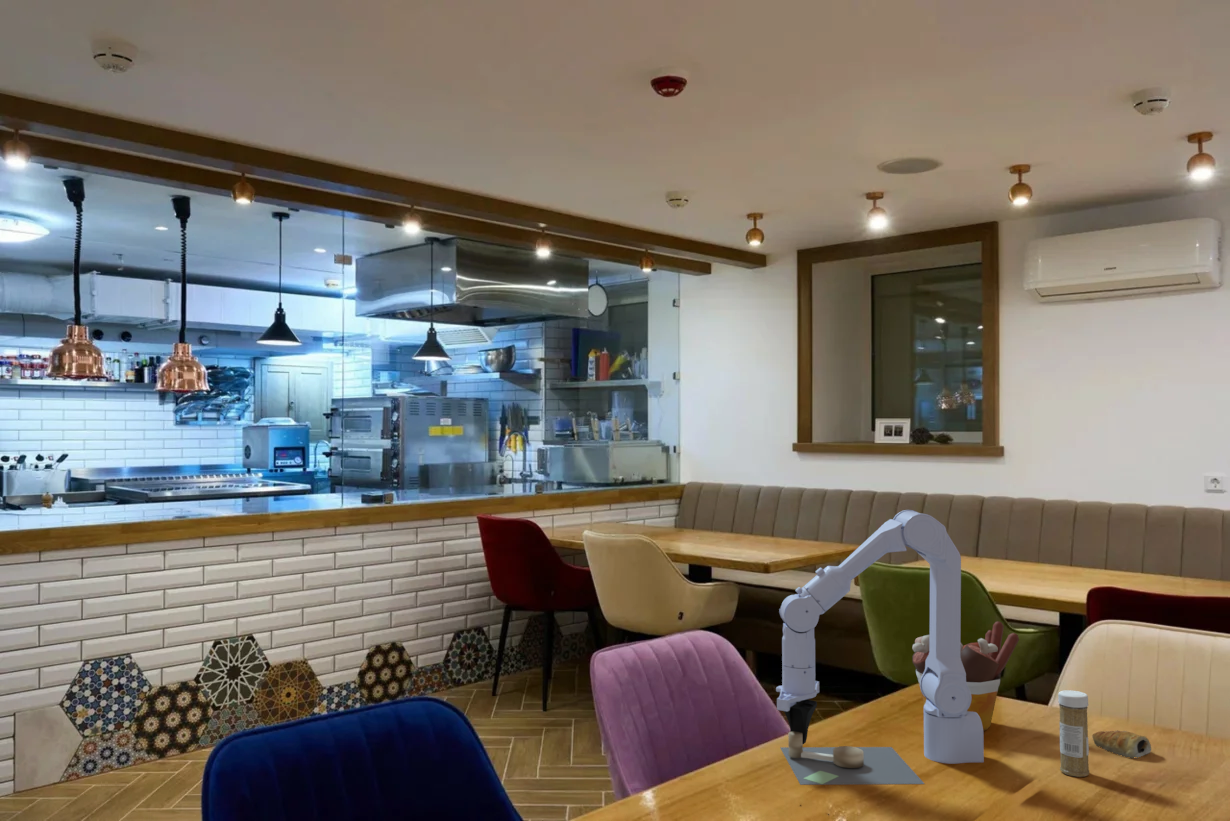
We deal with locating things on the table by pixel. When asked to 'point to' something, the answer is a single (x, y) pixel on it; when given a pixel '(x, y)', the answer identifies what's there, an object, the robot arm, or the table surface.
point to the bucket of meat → (976, 667)
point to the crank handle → (840, 757)
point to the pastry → (1123, 743)
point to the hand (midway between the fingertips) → (798, 742)
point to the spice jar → (1074, 733)
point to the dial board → (877, 768)
